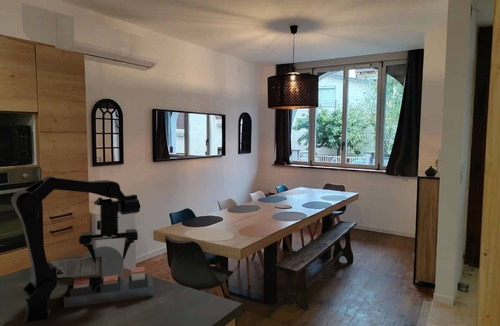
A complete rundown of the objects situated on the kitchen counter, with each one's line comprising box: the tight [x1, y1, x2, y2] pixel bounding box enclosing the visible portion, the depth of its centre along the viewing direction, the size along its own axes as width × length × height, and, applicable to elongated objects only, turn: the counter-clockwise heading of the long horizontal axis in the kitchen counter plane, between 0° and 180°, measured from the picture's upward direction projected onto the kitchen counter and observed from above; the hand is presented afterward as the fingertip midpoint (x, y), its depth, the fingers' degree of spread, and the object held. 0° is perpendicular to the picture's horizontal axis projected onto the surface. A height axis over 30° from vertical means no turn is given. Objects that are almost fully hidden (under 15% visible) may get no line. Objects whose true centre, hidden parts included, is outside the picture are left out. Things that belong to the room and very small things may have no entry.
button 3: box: [73, 277, 90, 288], centre depth 118 cm, size 4×4×3 cm
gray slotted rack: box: [63, 272, 155, 309], centre depth 123 cm, size 10×28×6 cm, turn 110°
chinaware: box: [82, 245, 125, 278], centre depth 134 cm, size 15×15×8 cm
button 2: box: [103, 275, 118, 285], centre depth 121 cm, size 4×4×3 cm
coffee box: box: [49, 257, 103, 288], centre depth 123 cm, size 9×6×16 cm
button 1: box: [130, 266, 146, 281], centre depth 124 cm, size 4×4×3 cm
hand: (109, 260), depth 123 cm, fingers open, 9 cm apart
